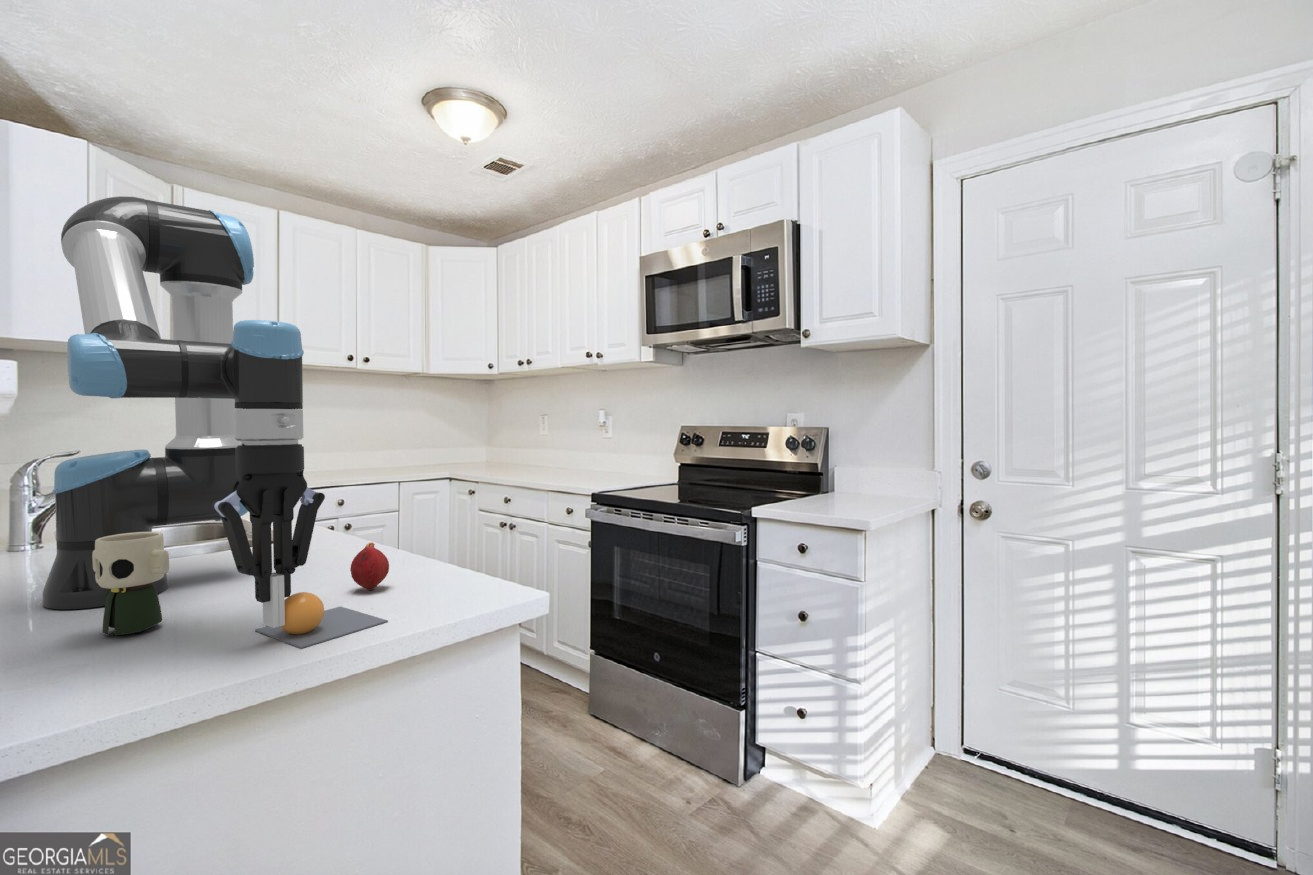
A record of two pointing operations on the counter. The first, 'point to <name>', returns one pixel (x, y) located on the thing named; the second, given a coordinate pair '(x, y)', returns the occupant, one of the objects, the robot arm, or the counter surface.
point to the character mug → (130, 579)
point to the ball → (302, 613)
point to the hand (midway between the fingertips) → (274, 624)
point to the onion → (369, 567)
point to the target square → (326, 627)
